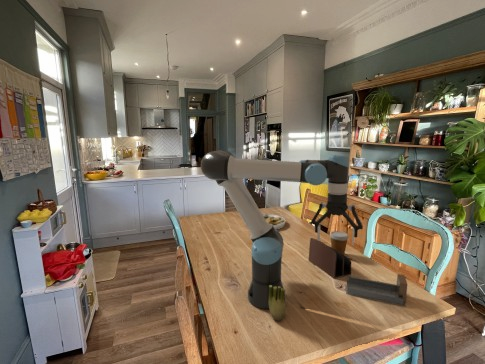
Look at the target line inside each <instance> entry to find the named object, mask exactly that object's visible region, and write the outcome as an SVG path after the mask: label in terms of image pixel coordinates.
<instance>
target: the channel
mask: <svg viewBox="0 0 485 364" xmlns="http://www.w3.org/2000/svg"><path fill="white" fill-rule="evenodd" d="M407 290H408V282H407V279H406V276H405V274H398V273H397V276H396V284H393V283H389V282H383V281H379V280H377V281H376V280H372V279H367V278H363V277H362V278H361V277H356V276H351V275H348V279H347V281H346V289H345V294H346V295H350V296H356V297H360V298H365V299H368V300H374V301H377V302H378V301H379V302H382V303H383V302H384V303H388V304H392V305H396V306H402V307H407V304H406V302H407V293H408V291H407Z"/></svg>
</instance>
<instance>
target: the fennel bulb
mask: <svg viewBox="0 0 485 364" xmlns="http://www.w3.org/2000/svg"><path fill="white" fill-rule="evenodd" d="M284 293H285V294H286V289H285V288H281V287H280V286H278V295H277V287H272V285H269V309H268V310H269V313H270V316H271V317H272V319H273V320H275V321H281V320H283V319H284V318H285V317H286V312H287V311H286V303H285V302H286V301H285V302H284Z"/></svg>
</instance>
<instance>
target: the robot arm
mask: <svg viewBox="0 0 485 364" xmlns="http://www.w3.org/2000/svg"><path fill="white" fill-rule="evenodd" d="M349 165H350V164H349V156H348V155H346V154H331V155H329V156H328V159H321V160H320V159H301V160H299V161H289V160H288V161H287V160H268V159H250V158H236V156H235V155H234V154H233V153H232V152H231V151H228V150H225V149H219V150H218V149H217V150H214V151H213V150H212V151H210V152H208V153H206V154H204V156H202V159H201V161H200V170H201V173H202V174H203V175H204V176H205V177H206V178H207V179H209V180H212V181H215V182H216V184H217V185H218V186H220V187H222V188H223V189H224V191H225V192H226V194H227V195H228V197H229V199H230V200H231V202H232V204H233V205H234V207H235V208H236V210H237V212H238V214H239V216H240V217H241V219H242V220H243V222H244V224H245V226H246V225H247V226H246V227H247V228H248V230H249V232H250V236H249V239H250V241H251V242H252V245H251V250H250V251H251V252H250V253H251V280H250V285H249V287H248V290H247V300H248V302H249V303H250V304H251V305H252V306H253V307H256V308H258V309H262V310H269V285H272V287H277V295H278V286H280V287H281V288H284V285H283V282H282V258H283V250H284V243H285V242H284V238H283V236H282V234H281V232H280V231H278V230H275V228H274V227H273V225H272V224H269V223H267V221H266V220H265V218H264V216H263V215H262V214H263V213H262V212H261V210H260V208H259V206H258V205H257V203H256V202H255V199H254V198H253V196H252V194H251V193H250V191H249V189H248V188H247V187H246V184H245V183H244V181H243V179H245V180H258V181H272V182H274V181H275V182H291V183H301V184H302V183H303V184H310V185H311V186H320V185H322V184H324V183H325V182H326V180H327V179H328V180H327V192H328V193H327V199H326V200H327V201H326V203H324V202H319V204H318V205H319V206H318V209H317V211H316V212H315V214H314V216H313V217H312V219H311V221H310V224H311V225H314V233H316V234H317V235H316V237H317V238H316V240H317V241H321V240H320V239H321V223H323V221H324V220H325V219H326V218H327V217H328V216H330V214H331V215H332V216H338V217H341V216H343V217H344V218H345V220H346V221H347V222H348V223H349V224H350V226H351V227H352V231H351V232H352V233H351V234H352V235H351V246H355V239H356V238H358V234H359V233H358V232H359V230H363V228H364V225H363V223H362V222H361V219H360V217H359V215H358V212H357V211H356V208H355V207H356V206H355V205H354V204H351V205H348V204H347V203H348V188H349V187H348V185H349V183H348V182H349V168H350V166H349ZM324 208H326V209H327V211H326V212H325V213H324V214H323V215H322V216H320V218H318V216H319V215H320V213H321V211H322V210H323V209H324ZM347 210H349V211H350V212H351V213H352V215H353V217H354V220H355V221H354V220H353V219H352V217H350V215H349V214H348V213H347ZM317 218H318V220H317ZM355 222H356V223H355ZM284 289H285V288H284ZM284 302H286V292H285V293H284Z"/></svg>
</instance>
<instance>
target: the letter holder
mask: <svg viewBox="0 0 485 364" xmlns="http://www.w3.org/2000/svg"><path fill="white" fill-rule="evenodd" d="M308 247H309V248H308V251H309V252H308V262H309V263H311V264H312V265H314V266H315V267H317V268H318V269H320V270H321V271H323V272H324V273H325V274H327V275H328V276H330V277H331V278H332V279H333V280H335V279H339V278H344V277H346V276H348V277H349V276H351V275H352V260H351V259H350V258H349V257H348V256H346V254H342V253H341V252H339V251H337V250H336V249H334V248H332V247H331V246H329V245H327V244H325V243H324V242H322V241H321V240H319V241H317V238H313V237H311V238H310V239H309V246H308Z"/></svg>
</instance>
